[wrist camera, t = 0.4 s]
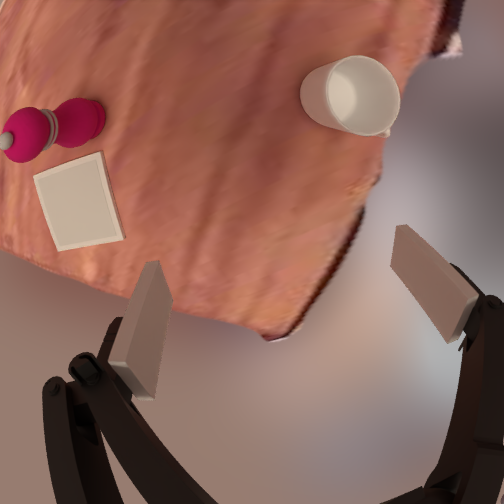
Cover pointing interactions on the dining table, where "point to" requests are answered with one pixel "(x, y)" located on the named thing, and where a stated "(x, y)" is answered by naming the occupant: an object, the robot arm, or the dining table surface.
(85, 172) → the plate
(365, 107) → the mug
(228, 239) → the dining table surface
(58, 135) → the pepper mill
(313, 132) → the dining table surface
